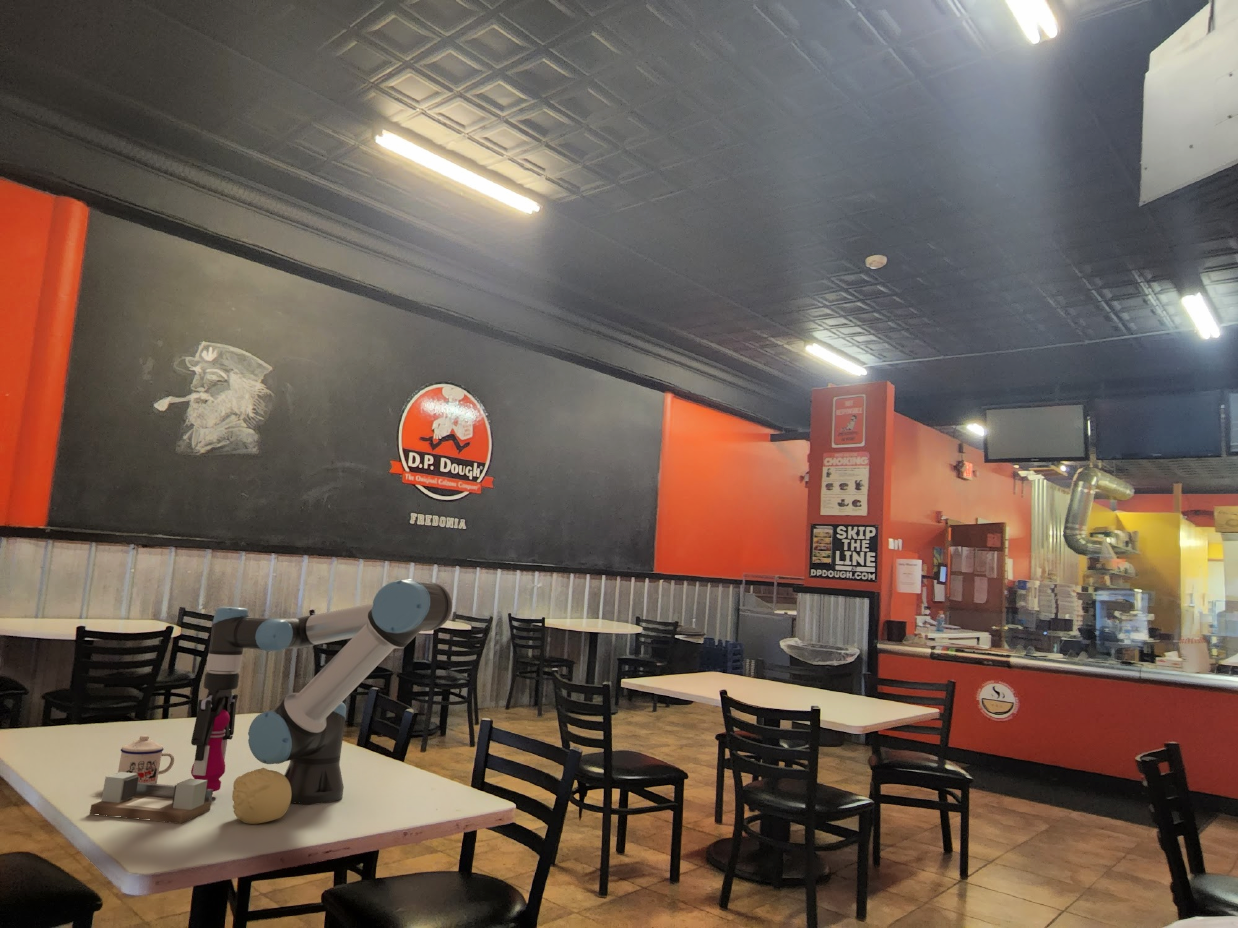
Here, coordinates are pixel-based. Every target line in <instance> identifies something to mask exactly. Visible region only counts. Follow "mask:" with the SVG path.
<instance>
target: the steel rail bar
mask: <svg viewBox="0 0 1238 928" xmlns="http://www.w3.org/2000/svg"><path fill="white" fill-rule="evenodd" d="M174 789H175V785H174V784H173V785H171V784H161V783H157V784H152V783H142V782H138V784H137V790H136V795H143V796H153V797H163V798H173V795H174ZM213 793H214V792H213V789H206V793H205V800H204V802H209V801H211V802H212V799H213Z"/></svg>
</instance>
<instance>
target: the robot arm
mask: <svg viewBox="0 0 1238 928" xmlns="http://www.w3.org/2000/svg"><path fill="white" fill-rule="evenodd" d="M452 611H453V600H452V596H451V595H450V593H449V592H448V590H447V589H446V588H445V587H444V586H442V585H441V584H439V583H437V582H433V581H418V580H414V579H408V578H407V579H398V580H394V581H391V582H388V583H386V584H385V585H383V586H382V587H381V588H380V589H379V590H378V591H377V593H376V594H375V596H374V598H373V600H372V603H369V604H368V603H367V604H363V605H357V606H353V607H347V608H342V609H338V610H332V611H327V612H322V613H321V612H320V613H317V614H312V615H306V616H300V617H293V618H292V617H291V618H287V617H284V618H280V617H278V618H277V617H276V618H275V617H274V618H272V617H271V618H270V617H268V618H267V617H266V618H265V617H251V616H249V609H248V608H246V607H235V606H219V607H217V608H216V609H215V612H214V616H213V620H212V623H211V633H210V642H209V649H208V655H207V657H206V660H207V661H206V671H208V672H205V673H204V679H203V688H204V689H206V690H208V692H207V695H206V697H205V699H199V700H198V702H197V711H196V712H197V713H196V718H195V722H194V727H193V732H192V735H191V742H190V743H191V745H192V746H196V748H195V755H194V762H193V764H194V767H193V774H191V776H192V775H202V776H204V775H205V774H206V768H207V761H208V754H209V747H210V746H207V745H208V742H209V739H210V736H211V733H212V730H213V727H214V722H215V718H216V717H217V716H219V715H220V712H221V710H222V709H224V710H226V711H227V712H228V714H229V716H230V720H229V723H228V725H227V726H226V727H225V728H224V729H225V730H226V731H225V736H223V739H222V746H221V748H222V754H223V758H224V761H226V759H225V758H226V751H227V746H228V740H232V739H233V737H234V733H235V721H236V709H237V702H238V698H239V694H237V693H235V694H234V693H232V692H233V691H232V690H236V689H237V688H238V687H239V681H240V674H239V671H241V667H242V660H243V654H244V653H243V652H244V649H248V650H249V649H250V650H257V651H258V650H259V651H265V652H267V653H268V652H282V651H284V650H286V649H306V648H307V649H308V648H311V647H313V646H315V645H320V644H326V643H327V644H328V643H332V642H335V641H336V642H337V641H342V640H349V639H350V640H349V641H348V642H347V643H346V644H345V645H344V646H343V647H342V648H341V649H340V650H339V651H338V653H336V654H335V655H334V656H333V658H331V660H330V661H328V662H327V663H326V665H325V666H324V667H322V669H321V670H320V671H319V672H318V673H317V674H316V675H315V676H314V677H313V678H311V679H310V681H309V682H308V683H307V684H306V685H305V686H304V687H303V688H302V689H301V690H300V691H299V692H291V693H289V694H287V695H286V696H285V697H284V698H283V699H282V700H281V701H280V702H279V703H278V704H277V705H276V706H275V707H274V709H272V710H265V711H264V712H261V713H260V714H257V715H256V717H254V719H253V720H252V721H251V723H250V725H249V727H248V732H247V735H248V740H247V742H248V743H247V744H248V748H249V749H250V752H251V753H252V755H253V757H254V758H255V759H256V760H257V761H259V762H260V763H262V764H266V765H280V764H283V763H284V762H289V763H288V766H287V768H286V771H284V772H285V773H284V774H283V775H284V776H285V777H286V778H287V779H288V781H289V783H290V786H291V791H292V796H291V802H290V804H301V805H318V804H326V803H333V802H337V801H339V800H341V799H342V798H343V795H344V783H343V777H342V776H343V775H342V771H341V766H340V764H341V763H340V761H341V754H342V748H343V747H342V745H343V739H344V732H345V726H346V725H345V724H346V720H347V714H346V713H347V706H346V704H345V703H344V702H343V701H344V700H345V699H346V698H347V697H348V696H349V695H350V694H351V693H352V692H353V691H354V690H355V689H356V688H357V687H359V685H360V684H361V683H362V682H363V681H364V680H365V679H366V678H367V677H368V676H369V675H370V674H371V673H372V672H373V671H374V670H375V669H376V667H377V666H379V665H380V664H381V663H382V661H383V660H384V659H385V658H386V657H388V655H389V654H391V652H392V651H393V650H395V649H404V648H405V647H407V645H408V644H410V642H412V640H414V638H415V637H416V636H418V634H419V633H421V632H431V631H435V630H438V629H440V628H441V627H442V626H443V625H445V624H446V623H447V622H448V620H449V618H450V616H451V614H452Z"/></svg>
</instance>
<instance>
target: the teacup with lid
mask: <svg viewBox="0 0 1238 928" xmlns="http://www.w3.org/2000/svg"><path fill="white" fill-rule="evenodd" d="M164 748H165V747H164V746H163V745H162V744H161V743H157V742H155V740H152V739H150V736H149V735H148V734H145V735H142V734H141V735H140V736H139V739H137V740H135V741H132V742H131V743H127V744H125V745H123V746H122V747H121V748H120V753H121V754H120V758H119V765H118V768H117V769H118V770H117V773H119V772H127V773H137V774H138V776H137V777H139V778H138V782H142V783H152V784H158V778H159V775H164V774H166V773H168V772H169V771H170V770H171V769H172V768H173V766H174V763H175V757H174V755H173V754H172V753H171V752H163V751H164V750H165V749H164ZM162 757H169V758H170V762H169V764H168V766H166V768H165V769H162V770H160V766H161V760H162Z"/></svg>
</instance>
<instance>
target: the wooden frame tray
mask: <svg viewBox="0 0 1238 928" xmlns="http://www.w3.org/2000/svg"><path fill="white" fill-rule="evenodd" d="M172 801H173V798H163V797H153V796H143V795H136V796H134V797H133V798H131V799H128V800H125V801H123V802H120V803H116V802H106V801H98V802H95V803H92V804H91V805H90V809H89V815H90V814H99V815H105V816H104V817H109V816H121V817H127V818H126V819H129V818H139V819H150V820H155V821H154V822H159V821H165V822H164V823H169V822H171V823H170V824H173V823H174V824H179V823H181V824H183V823H185V822H188V821H190V820H192V819H194V818H197V817H198V816H201V815H202V814H204V813H207V812H208V811H210V810H211V807H212V801H209V802H204V804H203V805H201V806H198V807H196V808H194V809H192V810H188V809H177V808H173V805H172ZM106 815H107V816H106ZM139 819H138V820H139ZM189 819H190V820H189Z"/></svg>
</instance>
